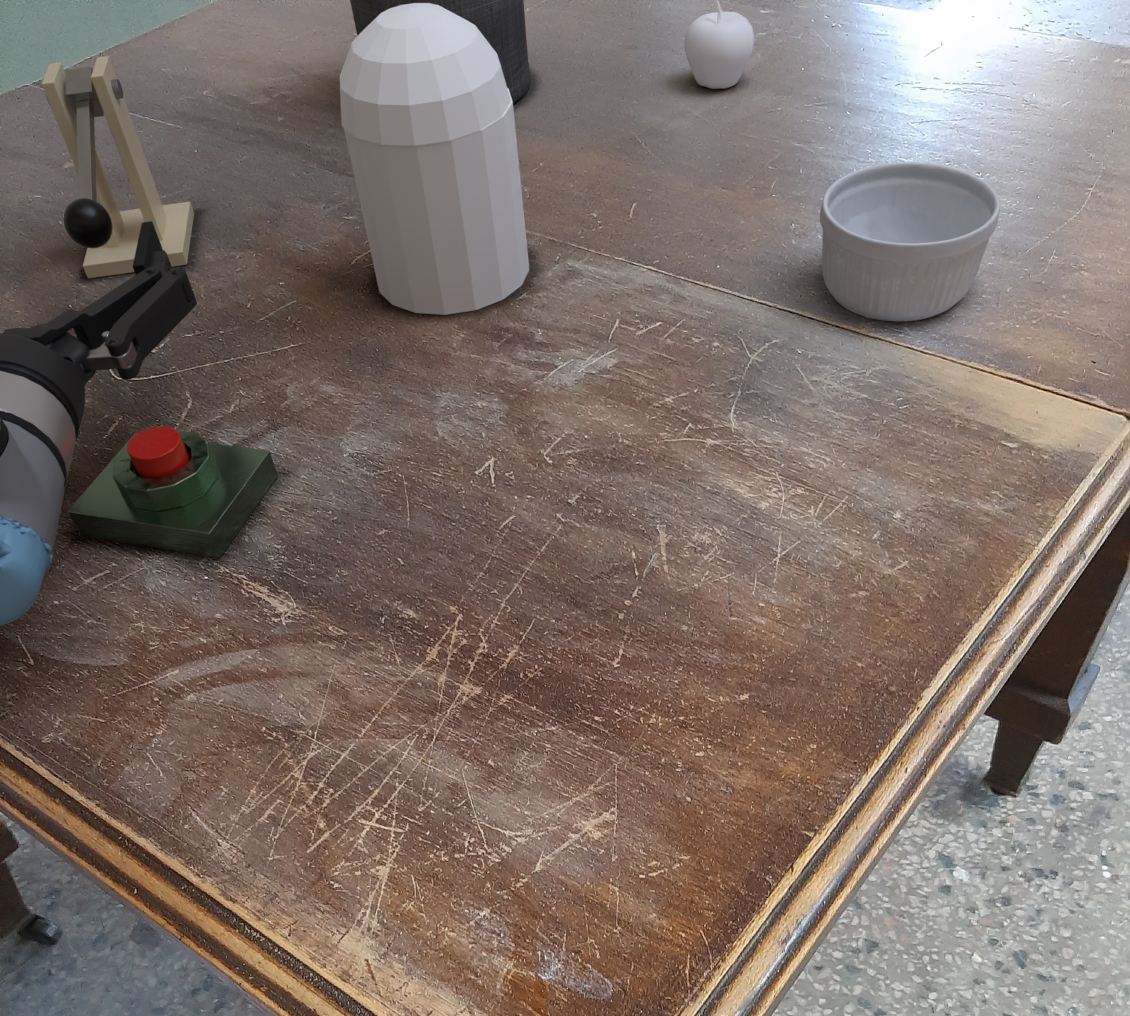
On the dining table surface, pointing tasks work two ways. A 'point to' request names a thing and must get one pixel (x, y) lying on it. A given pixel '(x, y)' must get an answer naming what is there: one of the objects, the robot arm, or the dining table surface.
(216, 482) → the green switch base
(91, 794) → the dining table surface
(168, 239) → the pendulum stand
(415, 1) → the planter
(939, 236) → the ramekin
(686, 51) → the plain white apple
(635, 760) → the dining table surface
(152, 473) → the button
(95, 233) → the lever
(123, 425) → the dining table surface
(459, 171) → the container
